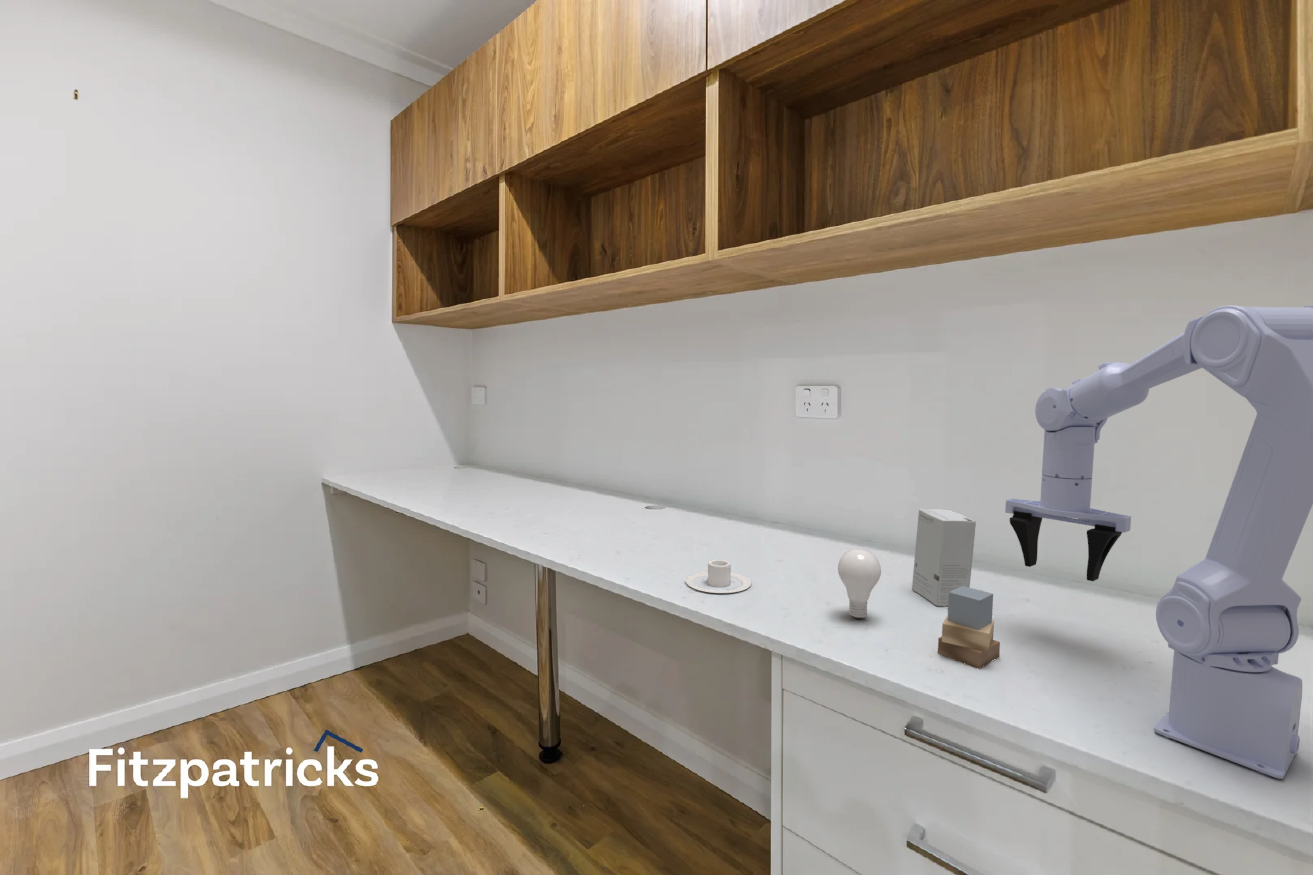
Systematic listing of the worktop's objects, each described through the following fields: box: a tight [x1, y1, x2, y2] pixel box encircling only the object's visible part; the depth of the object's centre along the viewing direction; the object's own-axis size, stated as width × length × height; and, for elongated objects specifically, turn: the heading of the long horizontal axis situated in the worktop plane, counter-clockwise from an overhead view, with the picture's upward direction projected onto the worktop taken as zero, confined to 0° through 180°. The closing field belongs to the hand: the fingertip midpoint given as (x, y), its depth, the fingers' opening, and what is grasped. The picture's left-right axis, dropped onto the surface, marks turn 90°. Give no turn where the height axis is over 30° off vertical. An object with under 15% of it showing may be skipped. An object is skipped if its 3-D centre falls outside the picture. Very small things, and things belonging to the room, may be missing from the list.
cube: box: [947, 586, 994, 630], centre depth 80 cm, size 4×4×4 cm
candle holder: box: [684, 559, 752, 594], centre depth 109 cm, size 12×12×4 cm
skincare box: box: [911, 508, 977, 607], centre depth 101 cm, size 8×6×15 cm
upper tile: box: [941, 614, 995, 652], centre depth 80 cm, size 6×6×2 cm
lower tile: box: [937, 636, 1001, 670], centre depth 80 cm, size 6×6×2 cm
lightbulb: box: [837, 548, 882, 620], centre depth 92 cm, size 6×6×11 cm
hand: (1060, 572), depth 83 cm, fingers open, 7 cm apart
